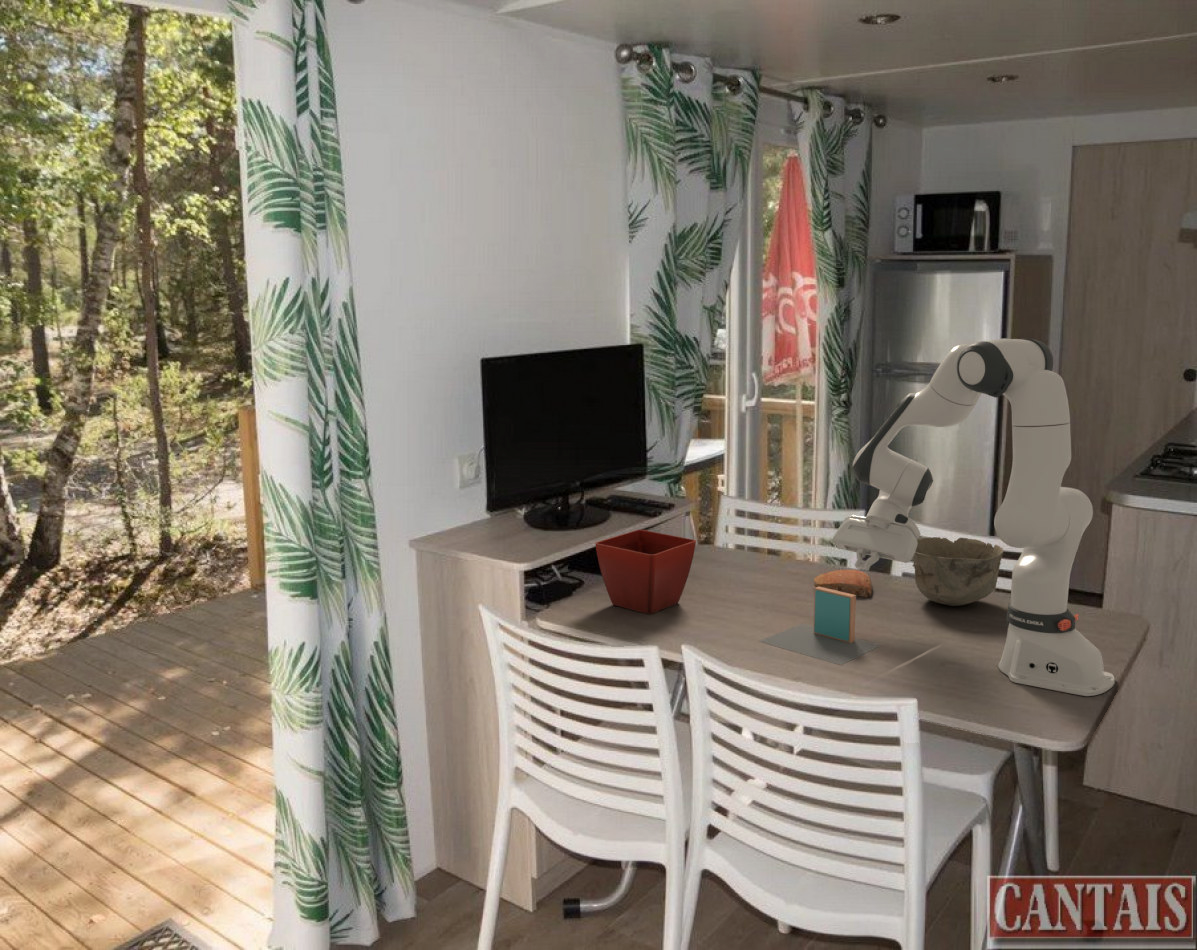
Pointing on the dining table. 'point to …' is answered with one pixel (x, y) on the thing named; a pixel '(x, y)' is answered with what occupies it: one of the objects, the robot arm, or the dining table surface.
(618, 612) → the dining table surface
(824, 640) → the mat
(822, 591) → the tile
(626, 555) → the plant pot
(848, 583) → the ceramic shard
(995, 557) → the bowl
